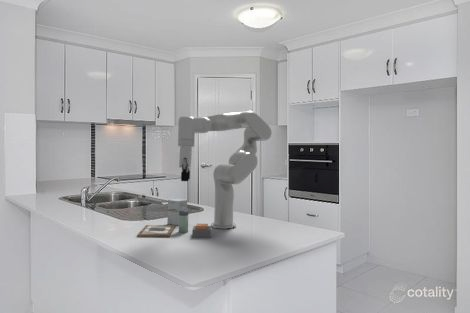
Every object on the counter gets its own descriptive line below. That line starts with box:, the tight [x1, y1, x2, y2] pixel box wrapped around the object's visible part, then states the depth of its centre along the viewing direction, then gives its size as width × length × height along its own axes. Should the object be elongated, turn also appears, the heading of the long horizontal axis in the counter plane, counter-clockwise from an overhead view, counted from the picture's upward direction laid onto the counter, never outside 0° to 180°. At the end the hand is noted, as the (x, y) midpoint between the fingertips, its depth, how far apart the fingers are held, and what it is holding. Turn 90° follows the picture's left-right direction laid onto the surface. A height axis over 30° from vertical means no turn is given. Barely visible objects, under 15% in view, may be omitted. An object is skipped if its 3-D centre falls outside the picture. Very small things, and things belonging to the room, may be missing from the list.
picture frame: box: [136, 224, 176, 238], centre depth 168 cm, size 20×14×1 cm
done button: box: [195, 223, 209, 229], centre depth 163 cm, size 5×5×3 cm
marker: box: [178, 209, 189, 234], centre depth 170 cm, size 4×4×10 cm
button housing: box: [191, 225, 212, 239], centre depth 163 cm, size 8×8×4 cm
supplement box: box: [166, 198, 188, 227], centre depth 188 cm, size 7×7×13 cm
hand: (185, 180), depth 168 cm, fingers open, 9 cm apart
